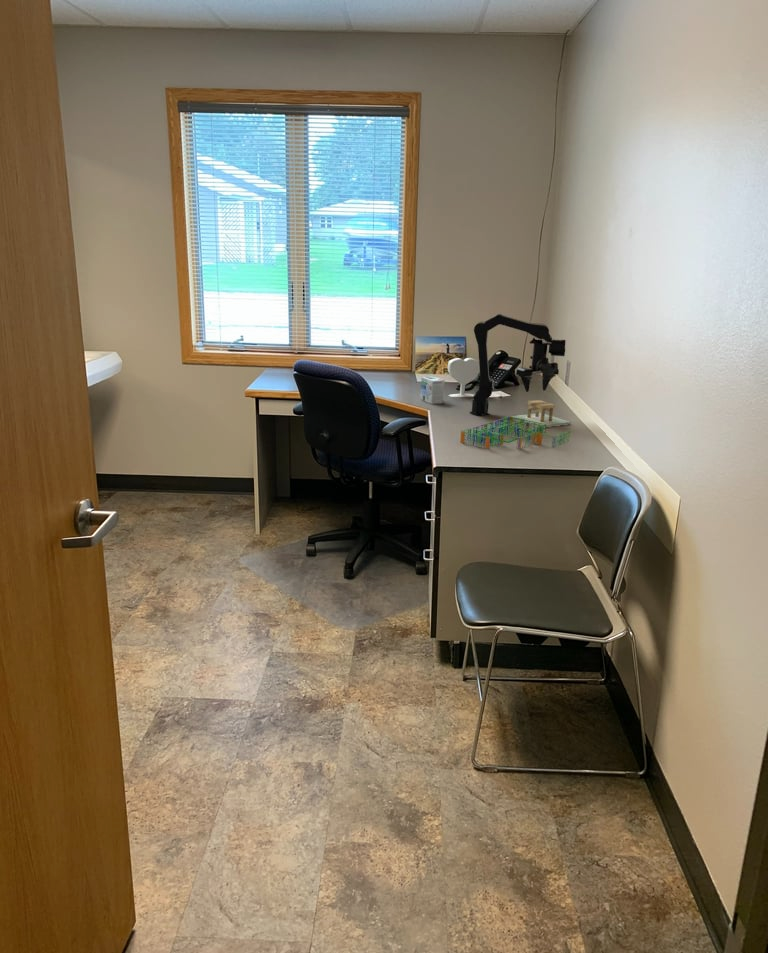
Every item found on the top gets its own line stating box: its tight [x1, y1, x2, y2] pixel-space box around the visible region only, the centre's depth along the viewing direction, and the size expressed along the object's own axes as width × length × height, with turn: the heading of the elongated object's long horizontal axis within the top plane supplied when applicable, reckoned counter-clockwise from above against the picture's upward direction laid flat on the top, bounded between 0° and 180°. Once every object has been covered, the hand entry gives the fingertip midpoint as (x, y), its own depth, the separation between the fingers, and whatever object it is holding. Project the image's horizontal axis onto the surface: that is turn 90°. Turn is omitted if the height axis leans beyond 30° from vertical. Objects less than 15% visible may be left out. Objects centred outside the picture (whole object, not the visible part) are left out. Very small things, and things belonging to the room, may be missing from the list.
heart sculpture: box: [447, 357, 480, 398], centre depth 361 cm, size 16×5×18 cm, turn 105°
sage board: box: [511, 412, 571, 429], centre depth 317 cm, size 18×18×1 cm
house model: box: [460, 415, 571, 450], centre depth 286 cm, size 35×30×5 cm
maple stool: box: [527, 399, 556, 422], centre depth 315 cm, size 10×6×7 cm, turn 30°
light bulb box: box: [419, 375, 445, 405], centre depth 348 cm, size 11×7×11 cm, turn 27°
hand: (535, 391), depth 320 cm, fingers open, 9 cm apart
